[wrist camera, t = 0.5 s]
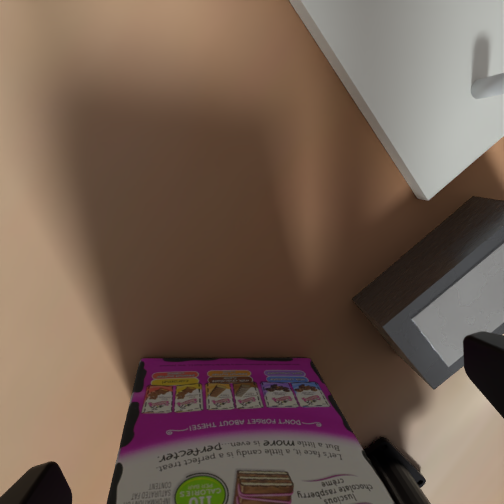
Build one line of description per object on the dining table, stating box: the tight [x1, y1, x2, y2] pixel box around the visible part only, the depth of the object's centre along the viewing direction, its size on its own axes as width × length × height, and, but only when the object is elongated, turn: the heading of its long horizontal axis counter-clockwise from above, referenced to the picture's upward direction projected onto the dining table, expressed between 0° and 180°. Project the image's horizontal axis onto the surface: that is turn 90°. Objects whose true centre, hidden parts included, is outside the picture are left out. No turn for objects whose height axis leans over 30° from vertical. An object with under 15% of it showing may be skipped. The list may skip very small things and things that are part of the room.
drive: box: [352, 196, 504, 389], centre depth 21 cm, size 6×10×4 cm, turn 130°
